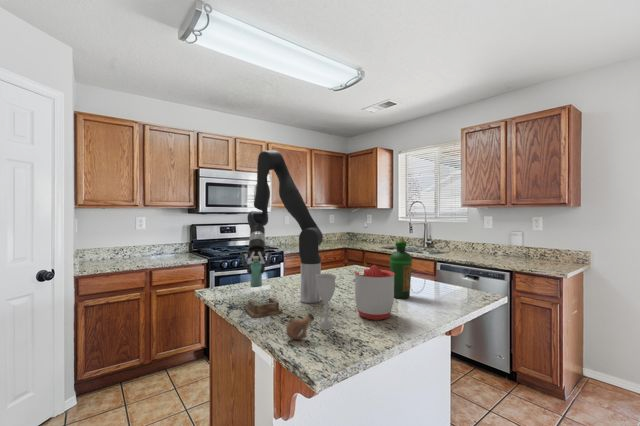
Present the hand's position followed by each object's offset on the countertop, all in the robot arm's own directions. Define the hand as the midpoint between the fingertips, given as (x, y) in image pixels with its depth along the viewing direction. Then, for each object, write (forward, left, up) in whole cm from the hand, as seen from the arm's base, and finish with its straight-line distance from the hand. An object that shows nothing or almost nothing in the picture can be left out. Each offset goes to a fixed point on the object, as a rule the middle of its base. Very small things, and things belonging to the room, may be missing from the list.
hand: (255, 272), depth 139 cm
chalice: (-33, +24, -14) cm, 44 cm away
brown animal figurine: (-26, +36, -14) cm, 47 cm away
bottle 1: (0, -2, -6) cm, 6 cm away
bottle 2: (-65, -20, -14) cm, 70 cm away
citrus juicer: (-50, +9, -14) cm, 53 cm away
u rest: (-6, +10, -13) cm, 18 cm away
